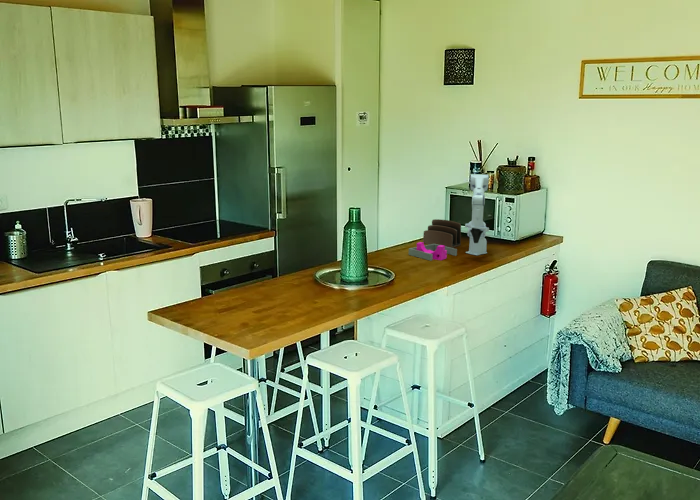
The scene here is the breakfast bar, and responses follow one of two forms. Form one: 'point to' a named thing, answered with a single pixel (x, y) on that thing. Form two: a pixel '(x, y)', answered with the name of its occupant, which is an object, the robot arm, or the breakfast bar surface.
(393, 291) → the breakfast bar surface
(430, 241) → the letter holder
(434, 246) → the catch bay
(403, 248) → the breakfast bar surface
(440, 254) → the toy block
